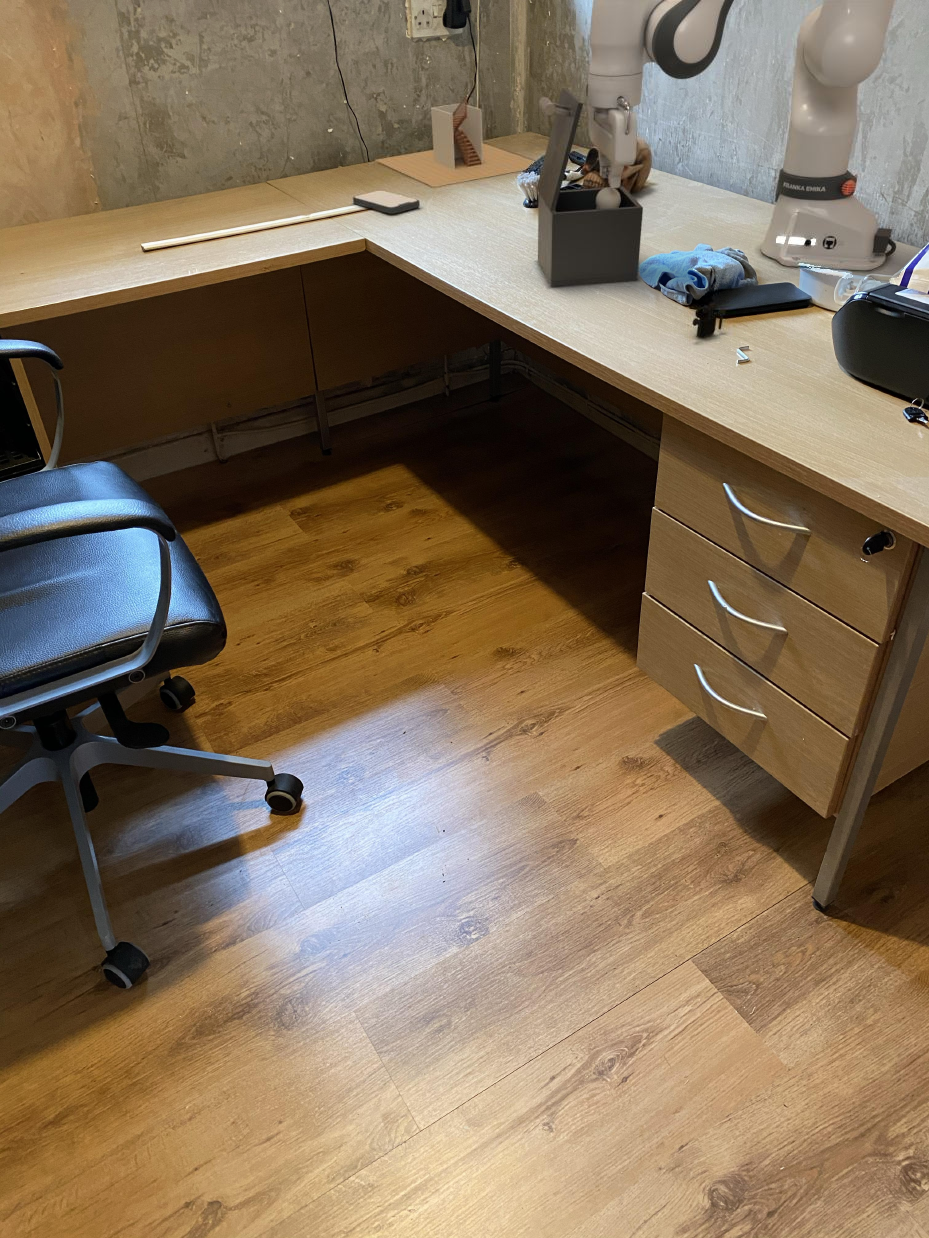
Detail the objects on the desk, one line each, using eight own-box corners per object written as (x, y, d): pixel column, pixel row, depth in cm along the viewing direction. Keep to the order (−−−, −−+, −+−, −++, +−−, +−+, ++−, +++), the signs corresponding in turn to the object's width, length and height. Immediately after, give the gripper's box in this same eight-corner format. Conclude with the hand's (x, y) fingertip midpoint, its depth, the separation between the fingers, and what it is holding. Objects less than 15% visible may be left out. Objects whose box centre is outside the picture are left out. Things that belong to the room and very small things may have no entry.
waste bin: (618, 255, 174) (623, 186, 166) (637, 280, 163) (643, 207, 155) (537, 261, 173) (538, 192, 166) (551, 287, 162) (552, 214, 155)
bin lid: (566, 88, 155) (538, 81, 154) (583, 103, 144) (553, 96, 143) (540, 190, 165) (514, 184, 164) (554, 212, 154) (526, 206, 153)
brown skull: (575, 203, 202) (580, 136, 195) (582, 192, 216) (587, 128, 209) (645, 207, 200) (653, 139, 192) (648, 195, 214) (655, 131, 207)
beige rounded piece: (620, 211, 164) (621, 184, 161) (619, 216, 160) (621, 189, 158) (595, 211, 164) (596, 185, 162) (594, 217, 161) (595, 190, 158)
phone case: (351, 204, 211) (391, 216, 201) (350, 197, 210) (390, 208, 200) (381, 196, 215) (422, 207, 205) (381, 189, 214) (422, 200, 204)
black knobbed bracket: (693, 343, 140) (697, 311, 137) (681, 338, 142) (685, 306, 139) (724, 331, 143) (729, 300, 140) (712, 327, 145) (717, 295, 142)
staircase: (453, 169, 232) (450, 96, 221) (434, 161, 239) (430, 89, 229) (483, 164, 235) (481, 91, 224) (463, 156, 242) (460, 85, 232)
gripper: (649, 102, 142) (642, 196, 151) (619, 81, 158) (614, 167, 167) (610, 105, 142) (605, 199, 151) (583, 83, 158) (580, 169, 167)
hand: (609, 182), depth 159 cm, fingers open, 5 cm apart
